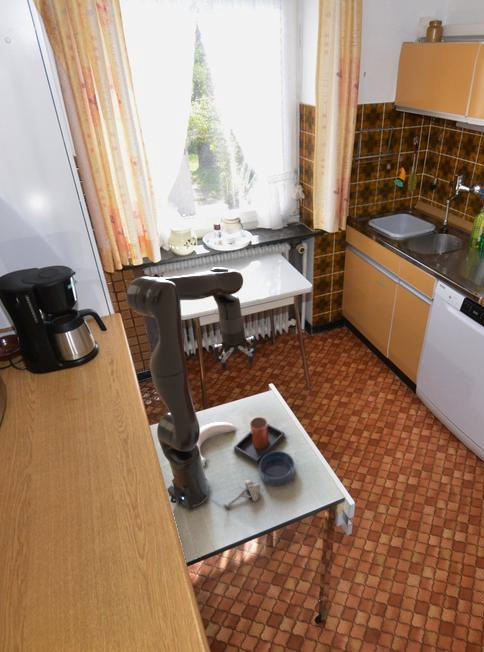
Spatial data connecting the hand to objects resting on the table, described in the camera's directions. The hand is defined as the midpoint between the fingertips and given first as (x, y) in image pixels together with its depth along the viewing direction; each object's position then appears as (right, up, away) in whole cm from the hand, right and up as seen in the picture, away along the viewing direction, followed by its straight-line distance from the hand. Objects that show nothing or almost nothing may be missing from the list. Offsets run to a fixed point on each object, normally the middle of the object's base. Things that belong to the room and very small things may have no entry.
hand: (237, 366), depth 148 cm
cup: (+8, -28, +7) cm, 30 cm away
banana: (-9, -29, +9) cm, 32 cm away
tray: (+7, -28, +7) cm, 30 cm away
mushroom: (+3, -41, -11) cm, 42 cm away
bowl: (+13, -35, -4) cm, 37 cm away
